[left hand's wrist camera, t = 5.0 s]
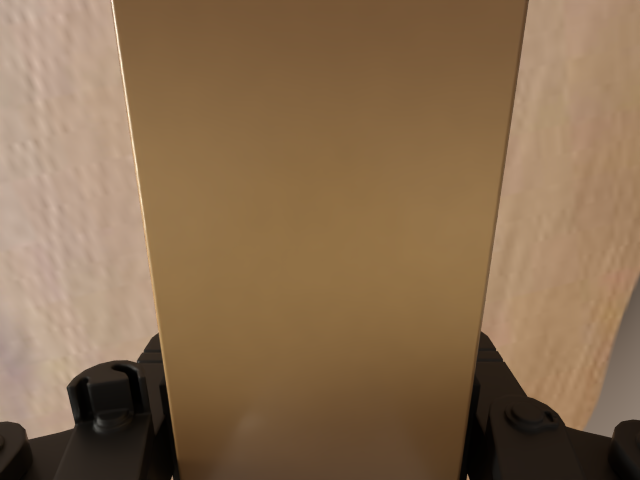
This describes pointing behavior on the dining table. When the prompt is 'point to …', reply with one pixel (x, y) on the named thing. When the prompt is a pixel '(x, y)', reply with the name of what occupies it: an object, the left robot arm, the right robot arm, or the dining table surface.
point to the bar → (319, 224)
